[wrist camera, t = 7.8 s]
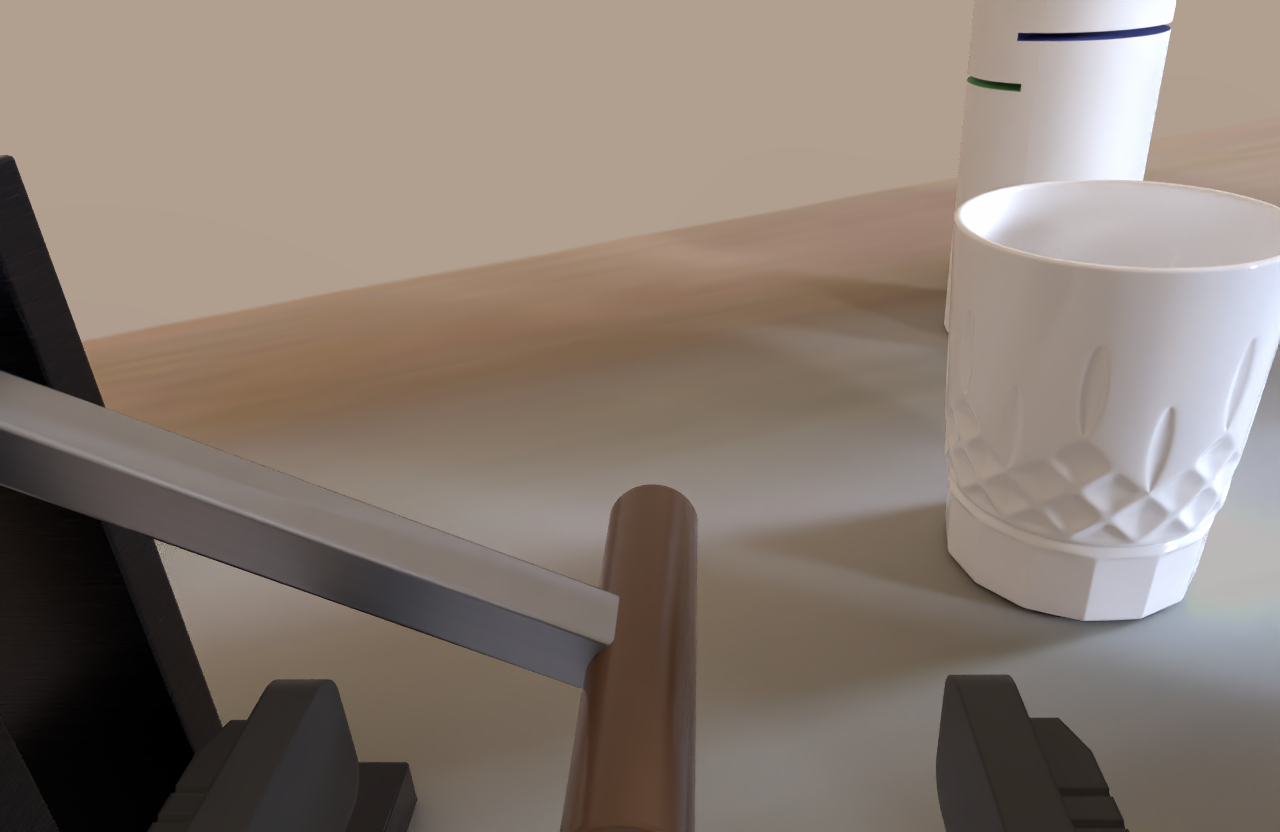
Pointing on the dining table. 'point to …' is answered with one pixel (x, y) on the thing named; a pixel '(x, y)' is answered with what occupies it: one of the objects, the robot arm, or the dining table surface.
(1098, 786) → the robot arm
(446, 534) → the lever
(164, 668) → the bracket
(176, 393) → the dining table surface
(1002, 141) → the cylindrical container
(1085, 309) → the white cup
